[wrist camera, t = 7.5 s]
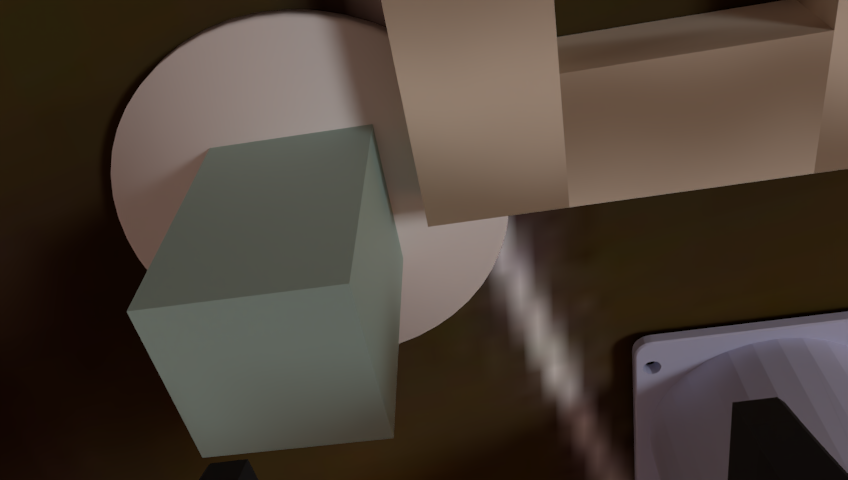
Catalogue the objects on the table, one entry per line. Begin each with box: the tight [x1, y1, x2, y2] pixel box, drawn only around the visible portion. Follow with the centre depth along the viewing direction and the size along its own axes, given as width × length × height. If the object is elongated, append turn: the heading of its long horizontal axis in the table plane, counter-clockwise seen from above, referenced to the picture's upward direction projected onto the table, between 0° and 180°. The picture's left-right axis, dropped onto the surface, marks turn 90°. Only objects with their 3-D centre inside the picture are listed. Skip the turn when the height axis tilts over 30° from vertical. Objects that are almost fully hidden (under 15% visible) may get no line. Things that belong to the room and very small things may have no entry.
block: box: [127, 124, 403, 458], centre depth 17 cm, size 4×4×6 cm
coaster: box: [111, 9, 508, 343], centre depth 19 cm, size 10×10×1 cm
